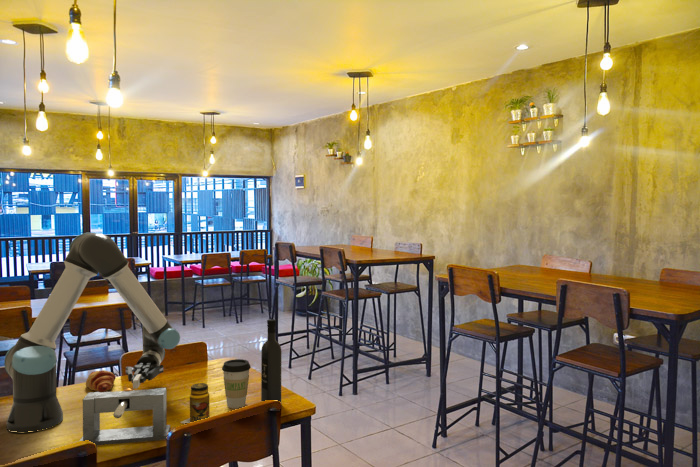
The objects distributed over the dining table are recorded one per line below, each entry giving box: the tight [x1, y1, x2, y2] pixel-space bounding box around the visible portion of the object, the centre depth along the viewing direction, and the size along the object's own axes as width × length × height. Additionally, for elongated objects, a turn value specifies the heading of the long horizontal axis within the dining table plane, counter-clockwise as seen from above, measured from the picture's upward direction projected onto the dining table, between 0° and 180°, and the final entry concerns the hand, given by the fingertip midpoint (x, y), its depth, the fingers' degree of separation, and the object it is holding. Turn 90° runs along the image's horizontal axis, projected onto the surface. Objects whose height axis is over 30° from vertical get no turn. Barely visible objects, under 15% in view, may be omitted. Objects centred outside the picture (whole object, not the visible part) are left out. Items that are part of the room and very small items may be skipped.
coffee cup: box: [221, 358, 251, 409], centre depth 177 cm, size 10×10×15 cm
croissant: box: [85, 370, 116, 392], centre depth 195 cm, size 21×10×8 cm, turn 37°
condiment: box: [180, 382, 210, 425], centre depth 163 cm, size 7×8×12 cm
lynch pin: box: [113, 387, 135, 419], centre depth 147 cm, size 5×14×5 cm, turn 12°
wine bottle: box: [260, 318, 283, 403], centre depth 178 cm, size 6×6×30 cm
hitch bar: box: [79, 387, 171, 446], centre depth 151 cm, size 24×8×13 cm, turn 102°
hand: (135, 384), depth 165 cm, fingers closed
